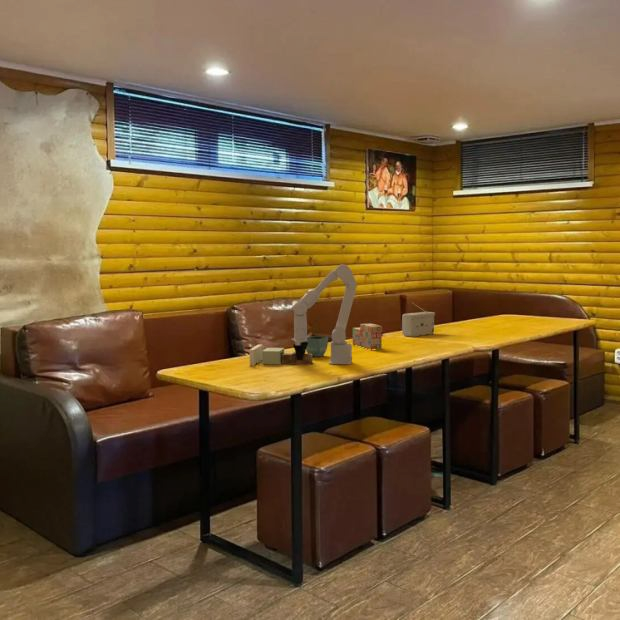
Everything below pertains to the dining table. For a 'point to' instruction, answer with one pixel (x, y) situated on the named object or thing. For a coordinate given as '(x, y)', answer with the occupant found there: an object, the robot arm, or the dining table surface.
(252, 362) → the wall
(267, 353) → the block
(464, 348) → the dining table surface
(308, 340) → the flower pot
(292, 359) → the brown collared bar
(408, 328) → the stereo radio cassette player
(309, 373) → the dining table surface
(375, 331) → the stack of blocks
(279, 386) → the dining table surface
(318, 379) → the dining table surface
